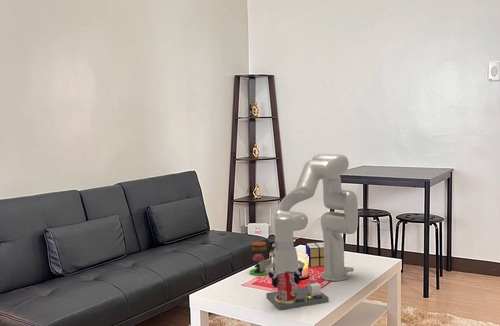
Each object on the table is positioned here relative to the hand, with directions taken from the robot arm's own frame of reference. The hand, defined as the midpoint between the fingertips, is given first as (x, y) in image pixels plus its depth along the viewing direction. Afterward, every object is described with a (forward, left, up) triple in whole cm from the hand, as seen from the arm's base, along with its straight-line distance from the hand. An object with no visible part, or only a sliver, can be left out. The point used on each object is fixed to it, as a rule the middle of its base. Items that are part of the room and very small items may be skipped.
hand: (285, 285), depth 229 cm
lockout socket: (0, 0, -6) cm, 6 cm away
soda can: (0, 0, -6) cm, 6 cm away
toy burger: (-4, -45, -8) cm, 46 cm away
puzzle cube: (-36, -46, -9) cm, 59 cm away
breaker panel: (-6, -3, -8) cm, 11 cm away
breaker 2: (-13, -1, -6) cm, 14 cm away
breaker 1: (-5, -7, -6) cm, 10 cm away
